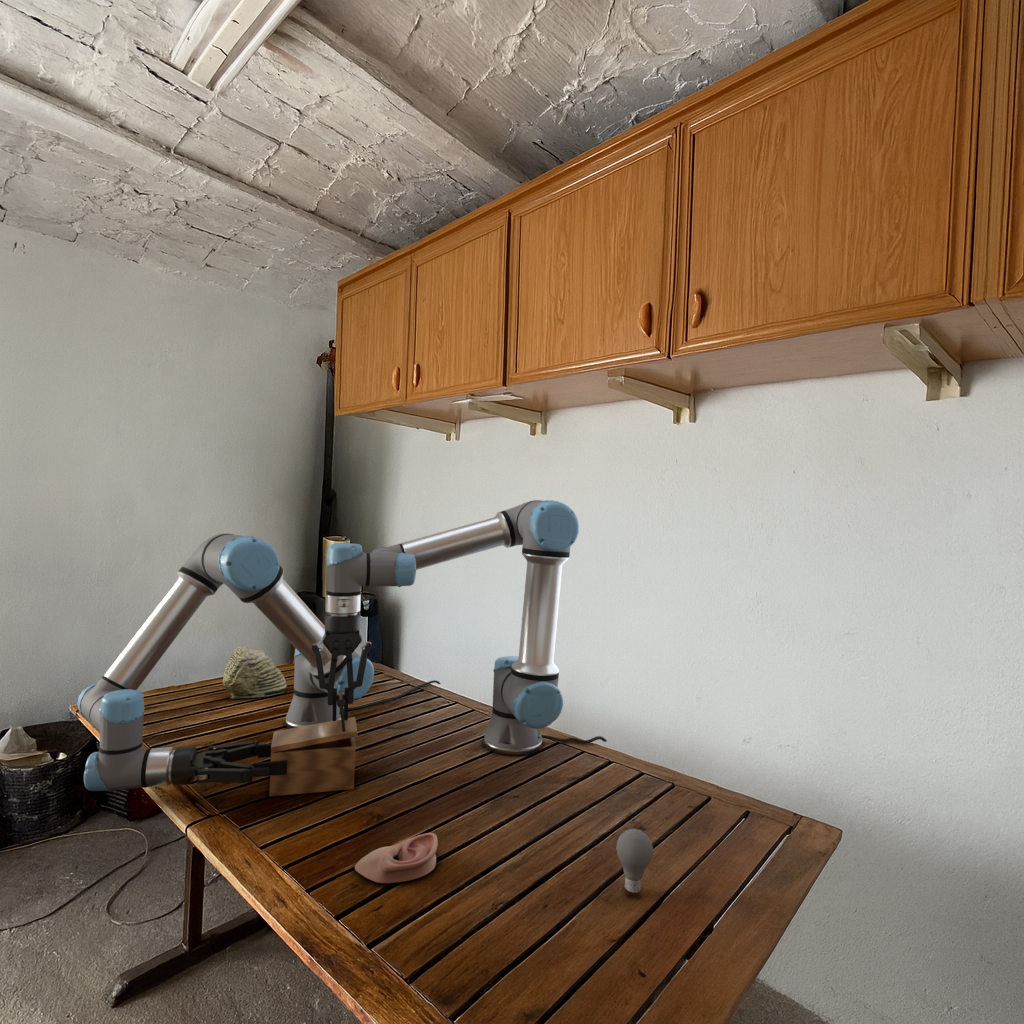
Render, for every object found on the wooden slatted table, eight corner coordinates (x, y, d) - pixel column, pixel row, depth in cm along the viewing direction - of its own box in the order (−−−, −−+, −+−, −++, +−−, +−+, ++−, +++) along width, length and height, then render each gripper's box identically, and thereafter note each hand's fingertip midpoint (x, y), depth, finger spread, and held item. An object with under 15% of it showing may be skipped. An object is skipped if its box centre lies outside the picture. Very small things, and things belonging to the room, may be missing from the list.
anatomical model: (347, 854, 106) (375, 820, 117) (346, 877, 106) (374, 841, 117) (422, 866, 103) (444, 831, 114) (421, 891, 103) (443, 853, 114)
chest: (351, 771, 147) (353, 732, 146) (353, 789, 138) (355, 747, 138) (272, 777, 142) (274, 737, 141) (269, 796, 133) (271, 753, 133)
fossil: (218, 695, 195) (220, 647, 195) (278, 685, 208) (279, 640, 207) (228, 703, 189) (230, 653, 188) (289, 692, 201) (290, 645, 201)
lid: (355, 721, 146) (352, 686, 146) (357, 736, 138) (354, 698, 137) (274, 736, 141) (270, 700, 141) (271, 752, 133) (267, 714, 132)
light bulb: (610, 879, 108) (613, 822, 108) (644, 879, 109) (647, 822, 109) (619, 902, 102) (622, 840, 102) (655, 901, 103) (658, 840, 103)
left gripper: (183, 762, 142) (289, 755, 149) (160, 809, 121) (284, 798, 128) (184, 729, 142) (291, 723, 148) (161, 770, 121) (286, 761, 128)
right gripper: (307, 617, 135) (304, 727, 135) (378, 615, 139) (375, 722, 140) (308, 610, 142) (305, 715, 142) (375, 609, 146) (372, 710, 147)
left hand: (288, 757), depth 138 cm, fingers closed on chest, 9 cm apart
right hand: (339, 718), depth 141 cm, fingers closed on lid, 2 cm apart
